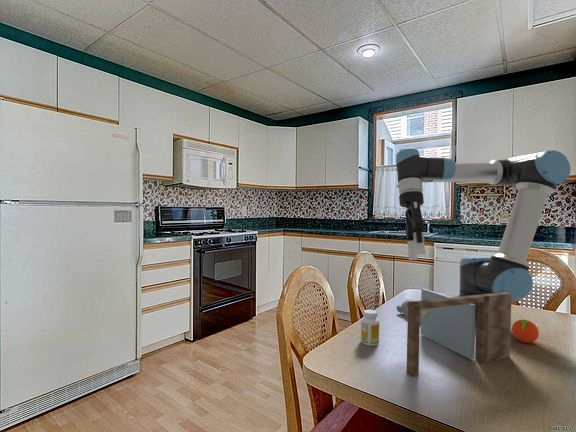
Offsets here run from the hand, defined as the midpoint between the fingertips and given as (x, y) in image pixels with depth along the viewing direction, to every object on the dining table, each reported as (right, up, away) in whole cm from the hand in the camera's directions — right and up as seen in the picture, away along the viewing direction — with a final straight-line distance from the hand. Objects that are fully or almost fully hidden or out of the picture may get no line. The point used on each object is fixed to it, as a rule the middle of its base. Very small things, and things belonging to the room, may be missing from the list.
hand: (416, 257), depth 103 cm
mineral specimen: (+8, -26, +21) cm, 34 cm away
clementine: (+34, -27, -1) cm, 43 cm away
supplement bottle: (-15, -26, -3) cm, 31 cm away
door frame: (+5, -27, -16) cm, 32 cm away
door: (+7, -26, -5) cm, 27 cm away
